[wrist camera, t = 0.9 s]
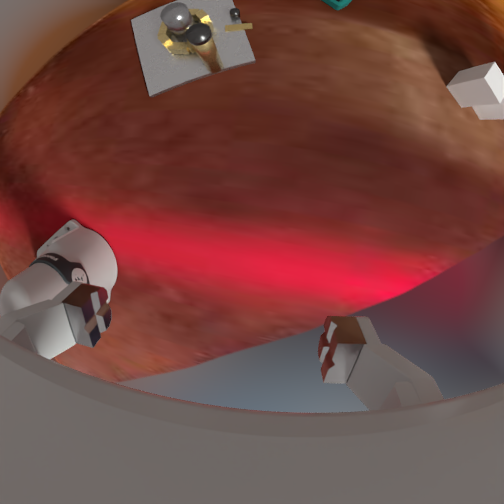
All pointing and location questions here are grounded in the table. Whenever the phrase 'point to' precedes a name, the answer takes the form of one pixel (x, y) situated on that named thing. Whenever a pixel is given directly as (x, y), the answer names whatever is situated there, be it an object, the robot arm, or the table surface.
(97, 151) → the table surface
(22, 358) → the robot arm
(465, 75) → the corner bracket
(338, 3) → the digital multimeter
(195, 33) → the brass metal fixture
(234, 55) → the spigot base
